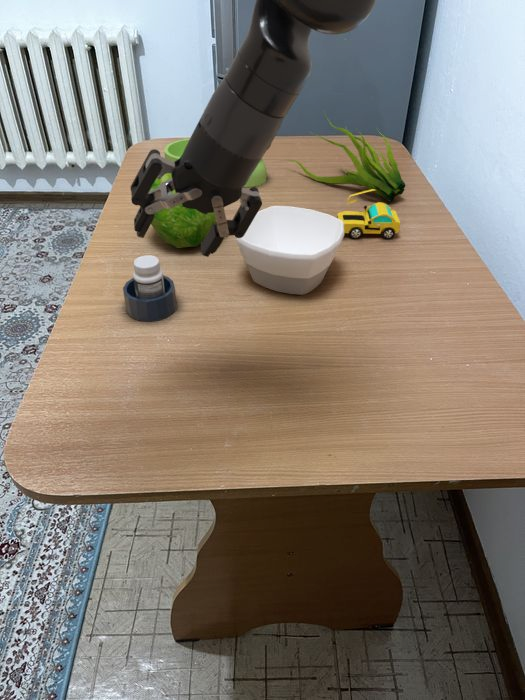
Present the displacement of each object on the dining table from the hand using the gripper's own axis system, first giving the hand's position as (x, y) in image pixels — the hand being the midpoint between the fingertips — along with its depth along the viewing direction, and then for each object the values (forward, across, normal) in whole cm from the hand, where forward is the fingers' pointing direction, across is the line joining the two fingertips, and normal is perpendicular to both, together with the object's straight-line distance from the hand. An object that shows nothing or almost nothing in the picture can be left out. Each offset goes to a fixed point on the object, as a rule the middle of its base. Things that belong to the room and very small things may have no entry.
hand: (172, 242), depth 69 cm
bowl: (+13, -30, -17) cm, 37 cm away
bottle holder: (+23, -8, -12) cm, 27 cm away
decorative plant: (+11, -53, -53) cm, 76 cm away
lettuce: (+25, -18, -37) cm, 48 cm away
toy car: (+7, -49, -30) cm, 58 cm away
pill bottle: (+23, -8, -11) cm, 27 cm away
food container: (+26, -30, -64) cm, 75 cm away
